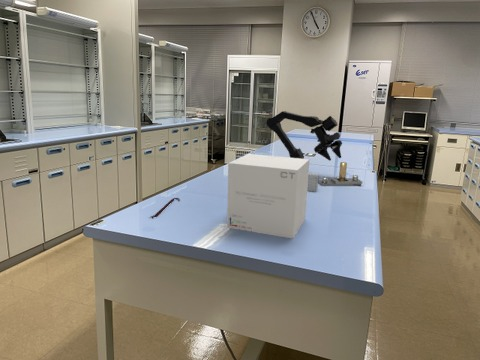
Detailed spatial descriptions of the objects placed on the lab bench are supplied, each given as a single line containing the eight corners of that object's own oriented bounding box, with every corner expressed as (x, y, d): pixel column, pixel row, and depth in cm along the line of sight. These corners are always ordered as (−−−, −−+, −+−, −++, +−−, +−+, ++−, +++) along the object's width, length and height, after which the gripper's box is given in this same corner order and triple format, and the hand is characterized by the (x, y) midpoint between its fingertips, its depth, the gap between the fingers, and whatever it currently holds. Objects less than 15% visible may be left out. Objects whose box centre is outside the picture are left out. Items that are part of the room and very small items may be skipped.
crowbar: (171, 197, 170) (182, 197, 170) (171, 199, 171) (182, 200, 170) (148, 217, 143) (160, 218, 143) (148, 219, 144) (160, 220, 143)
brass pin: (339, 184, 203) (341, 163, 200) (337, 183, 207) (339, 162, 204) (345, 184, 204) (348, 163, 201) (343, 183, 207) (345, 162, 204)
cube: (227, 227, 137) (228, 163, 131) (246, 210, 157) (248, 153, 151) (293, 238, 129) (297, 170, 123) (305, 219, 148) (309, 159, 142)
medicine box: (317, 189, 192) (318, 173, 190) (316, 192, 188) (317, 175, 186) (302, 188, 195) (303, 172, 192) (300, 190, 190) (301, 173, 188)
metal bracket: (321, 185, 200) (321, 177, 199) (316, 182, 208) (317, 173, 206) (362, 185, 202) (362, 177, 201) (356, 182, 210) (357, 174, 209)
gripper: (320, 129, 198) (334, 153, 194) (341, 126, 210) (355, 149, 205) (308, 140, 207) (321, 164, 202) (329, 137, 218) (342, 159, 214)
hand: (335, 159), depth 206 cm, fingers open, 9 cm apart
